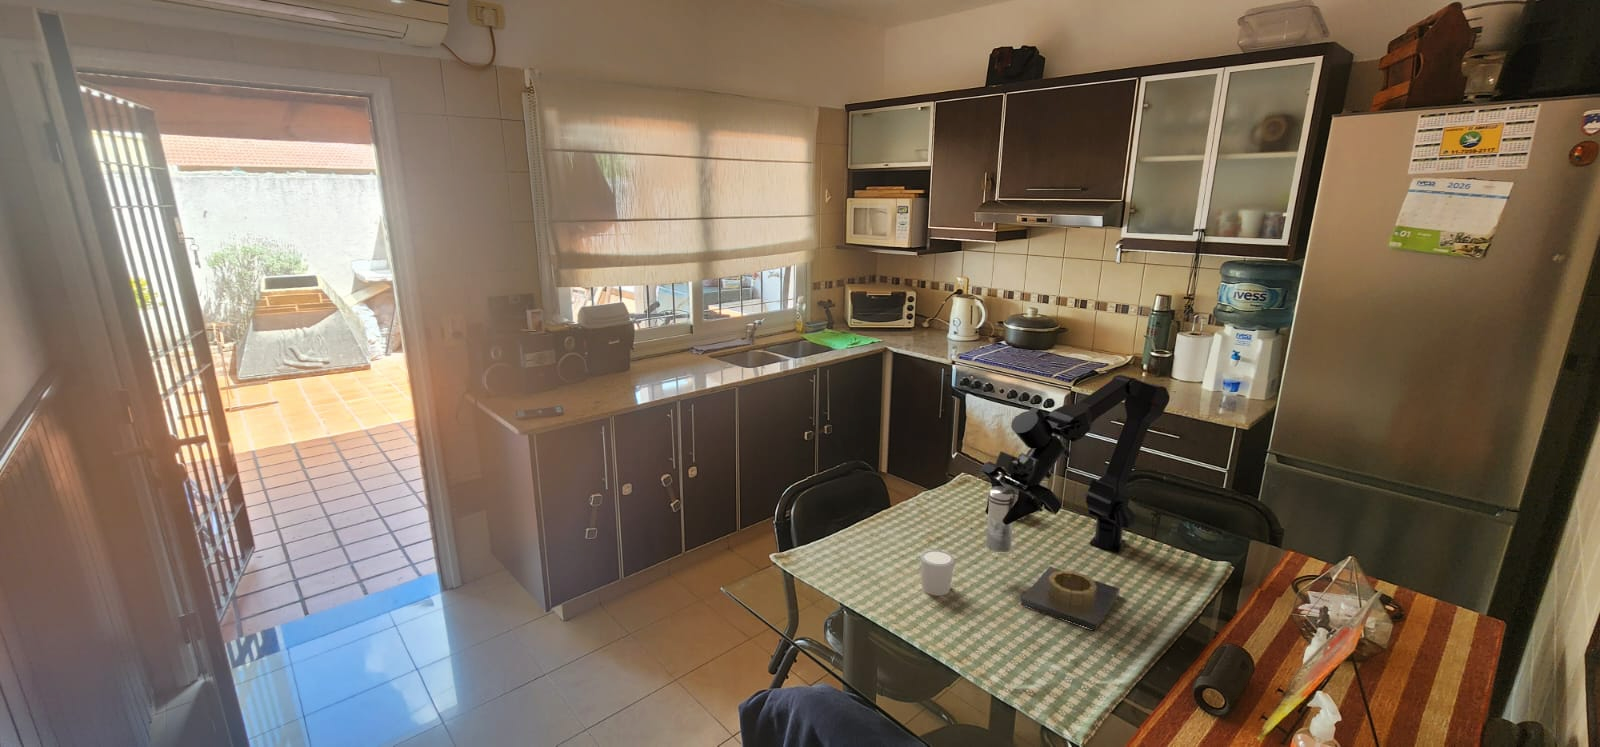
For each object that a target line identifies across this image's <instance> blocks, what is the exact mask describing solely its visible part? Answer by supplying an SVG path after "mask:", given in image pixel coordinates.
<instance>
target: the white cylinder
mask: <svg viewBox="0 0 1600 747" xmlns="http://www.w3.org/2000/svg"><path fill="white" fill-rule="evenodd" d="M919 556H920V572H921V574H920V575H921V588H922V591H924V592H925V593H926V594H929V595H933V596H937V595H938V596H937V597H939V596H944V595H947V594H949V592H950V590H951V583H952V580H953V579H952V578H953V571H954V566H955V561H956V560H955V557H954V556H953V555H952V554H951V553H949V552H947V551H946V550H945V551H944V550H941V549H929V550H925V551H923V552H922V553H921V554H920V555H919Z"/></svg>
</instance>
